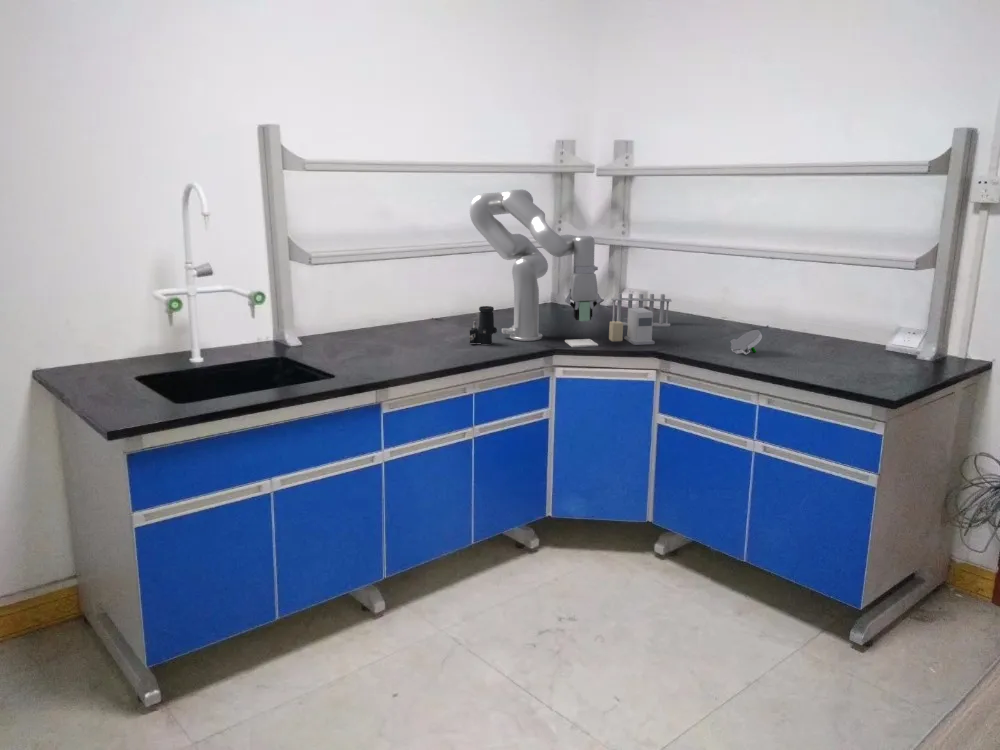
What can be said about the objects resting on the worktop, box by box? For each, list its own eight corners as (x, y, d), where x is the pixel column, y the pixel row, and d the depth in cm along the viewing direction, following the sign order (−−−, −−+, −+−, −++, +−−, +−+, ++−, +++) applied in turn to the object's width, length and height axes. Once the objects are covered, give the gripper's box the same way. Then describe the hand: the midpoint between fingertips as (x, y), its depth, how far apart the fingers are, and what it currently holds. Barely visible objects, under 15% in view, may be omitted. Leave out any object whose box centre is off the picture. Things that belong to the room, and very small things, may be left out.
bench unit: (634, 344, 289) (635, 313, 285) (624, 338, 299) (625, 308, 296) (654, 344, 290) (656, 312, 287) (643, 337, 300) (645, 307, 297)
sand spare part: (612, 341, 295) (613, 323, 293) (608, 339, 298) (609, 321, 297) (622, 341, 295) (623, 323, 293) (618, 338, 299) (619, 321, 297)
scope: (472, 304, 291) (498, 305, 289) (472, 340, 295) (498, 341, 293) (468, 308, 283) (494, 309, 282) (468, 345, 287) (494, 346, 285)
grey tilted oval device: (724, 346, 284) (742, 320, 281) (741, 357, 285) (759, 331, 283) (737, 355, 269) (756, 328, 267) (755, 367, 271) (774, 340, 268)
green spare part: (579, 321, 286) (579, 302, 284) (576, 319, 289) (576, 300, 288) (589, 320, 286) (590, 302, 285) (586, 318, 290) (586, 300, 288)
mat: (572, 347, 284) (572, 345, 284) (564, 341, 294) (564, 339, 294) (598, 346, 286) (598, 344, 286) (589, 340, 296) (589, 338, 296)
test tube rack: (610, 325, 326) (611, 294, 322) (609, 323, 330) (611, 292, 327) (670, 326, 323) (672, 295, 320) (669, 324, 327) (671, 293, 324)
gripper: (602, 268, 288) (601, 316, 293) (558, 269, 285) (558, 318, 290) (608, 270, 281) (607, 320, 286) (564, 272, 278) (564, 322, 282)
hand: (583, 318), depth 288 cm, fingers closed on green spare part, 4 cm apart
